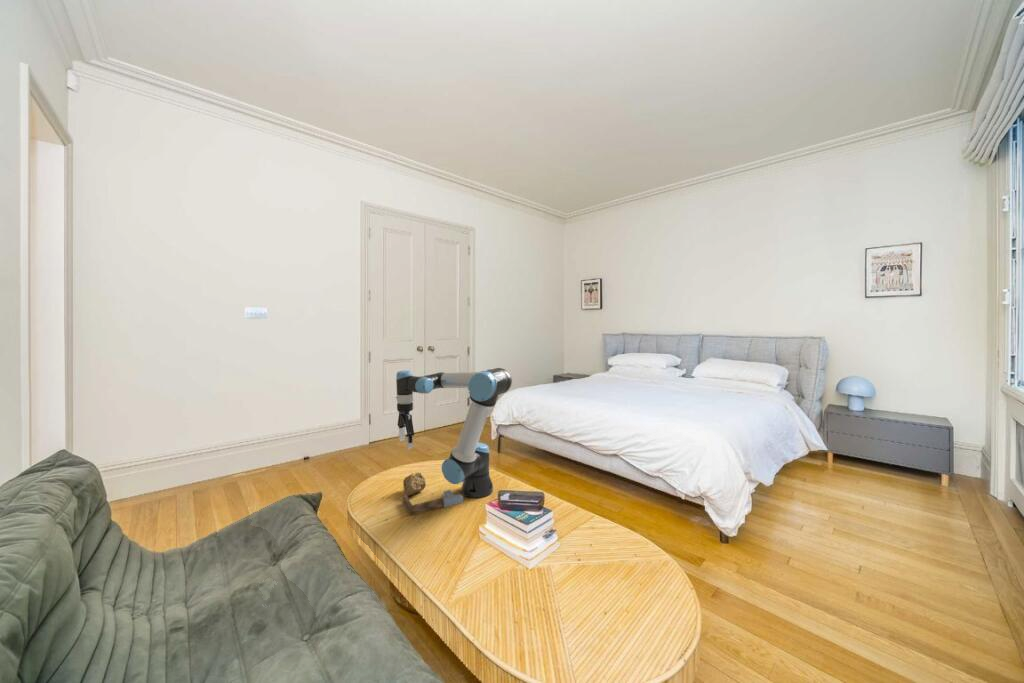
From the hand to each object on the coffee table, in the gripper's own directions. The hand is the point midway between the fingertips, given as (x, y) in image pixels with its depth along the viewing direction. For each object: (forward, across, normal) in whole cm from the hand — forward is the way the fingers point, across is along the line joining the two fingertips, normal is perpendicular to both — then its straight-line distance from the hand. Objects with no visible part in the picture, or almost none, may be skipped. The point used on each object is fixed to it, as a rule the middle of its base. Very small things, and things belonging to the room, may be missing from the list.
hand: (405, 444), depth 193 cm
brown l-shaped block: (+21, +23, +1) cm, 31 cm away
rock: (+21, +10, +1) cm, 24 cm away
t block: (+21, +25, +13) cm, 35 cm away
